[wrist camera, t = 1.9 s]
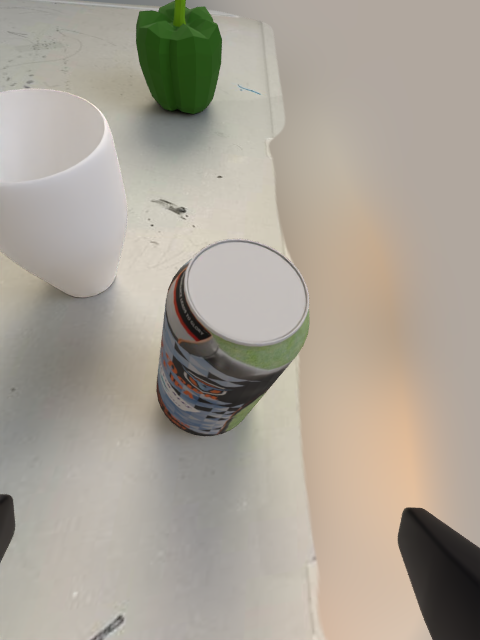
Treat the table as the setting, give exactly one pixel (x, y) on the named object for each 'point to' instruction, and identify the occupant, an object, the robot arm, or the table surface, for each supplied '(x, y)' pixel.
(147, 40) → the bell pepper
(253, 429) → the table surface
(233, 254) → the beverage can
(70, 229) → the mug
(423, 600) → the robot arm
